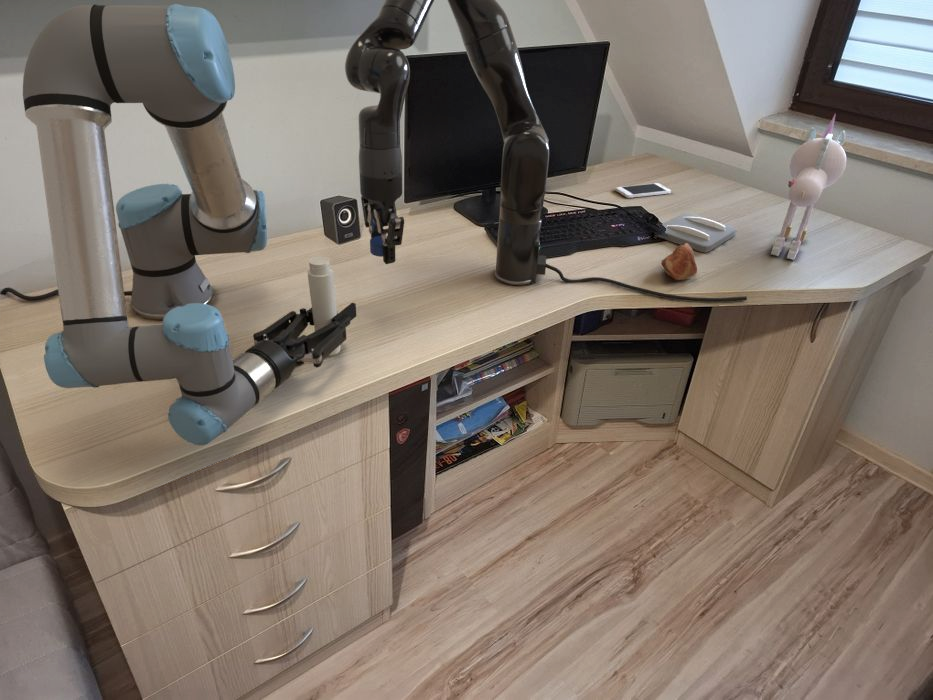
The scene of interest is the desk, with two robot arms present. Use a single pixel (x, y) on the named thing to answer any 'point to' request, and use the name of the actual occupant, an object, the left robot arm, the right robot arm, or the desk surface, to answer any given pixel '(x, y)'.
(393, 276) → the desk surface
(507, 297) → the desk surface
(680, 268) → the brown lumpy piece
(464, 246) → the desk surface
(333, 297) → the bottle
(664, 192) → the smartphone
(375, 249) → the lid
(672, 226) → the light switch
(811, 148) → the toy
